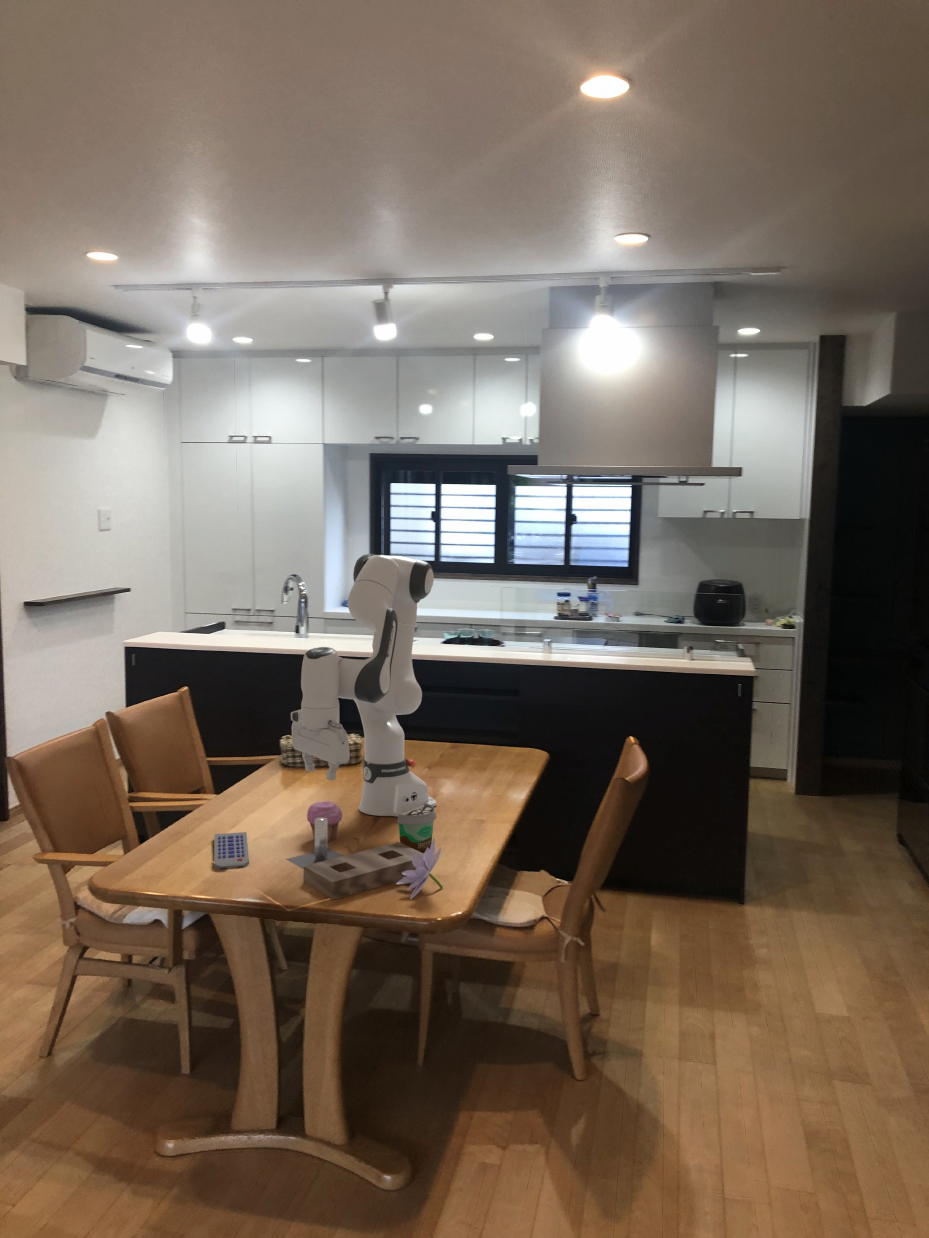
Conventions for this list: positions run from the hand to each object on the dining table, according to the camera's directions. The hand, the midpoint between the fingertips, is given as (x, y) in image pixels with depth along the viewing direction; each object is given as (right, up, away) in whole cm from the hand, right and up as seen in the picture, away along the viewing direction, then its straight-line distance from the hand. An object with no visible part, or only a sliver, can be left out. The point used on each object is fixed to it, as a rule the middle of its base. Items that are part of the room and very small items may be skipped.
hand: (320, 775), depth 225 cm
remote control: (-23, -21, +8) cm, 32 cm away
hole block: (+12, -22, -7) cm, 26 cm away
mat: (0, -21, +2) cm, 21 cm away
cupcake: (-2, -20, +18) cm, 27 cm away
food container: (+23, -21, +12) cm, 33 cm away
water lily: (+24, -23, -13) cm, 36 cm away
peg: (0, -21, +2) cm, 21 cm away
